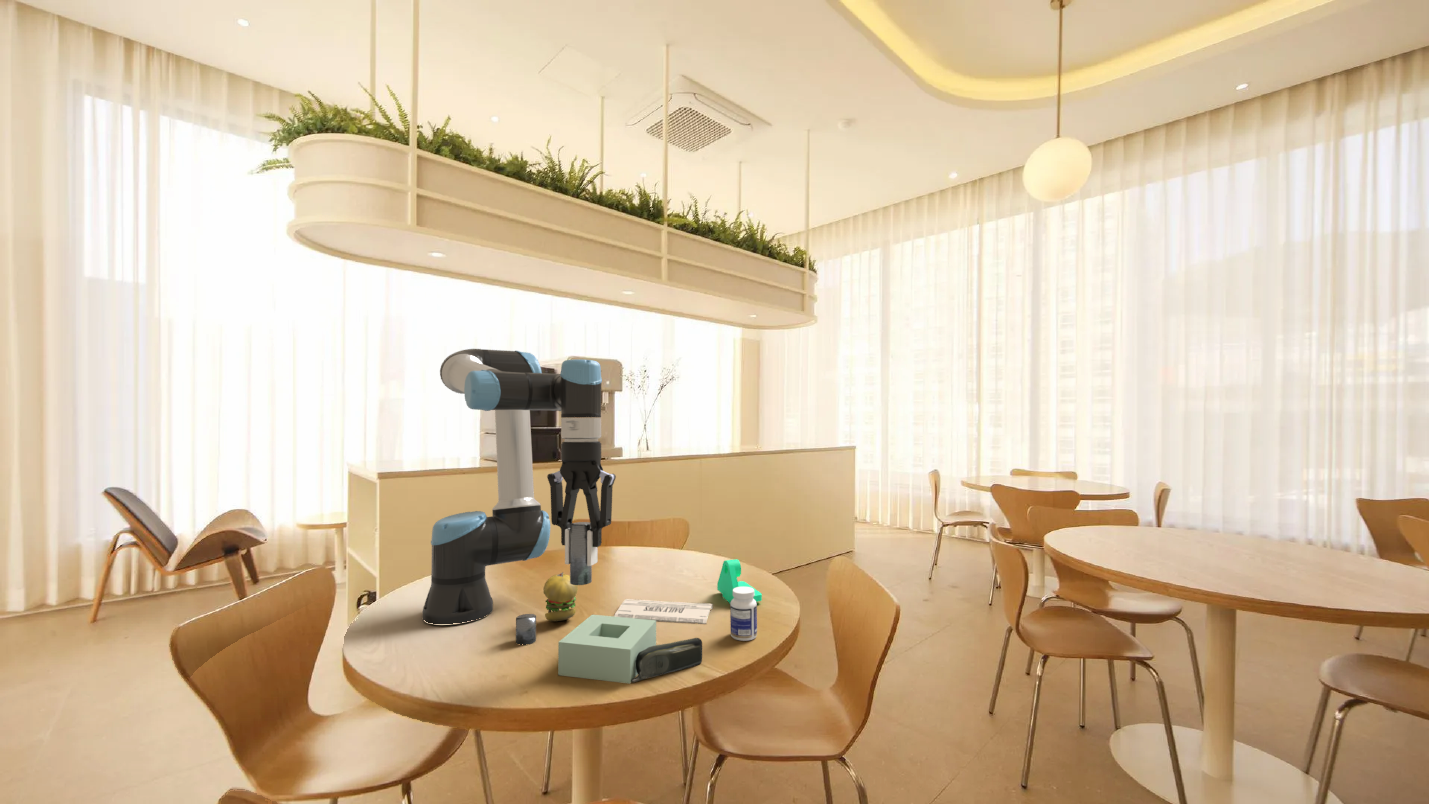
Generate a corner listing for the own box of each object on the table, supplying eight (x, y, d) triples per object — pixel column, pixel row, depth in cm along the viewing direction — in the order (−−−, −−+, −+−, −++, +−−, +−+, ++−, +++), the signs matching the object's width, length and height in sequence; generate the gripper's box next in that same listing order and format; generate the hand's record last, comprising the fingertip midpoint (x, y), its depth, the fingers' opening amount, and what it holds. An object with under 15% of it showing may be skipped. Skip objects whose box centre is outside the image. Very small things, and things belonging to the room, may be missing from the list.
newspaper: (713, 607, 138) (713, 597, 137) (706, 632, 125) (706, 621, 125) (625, 602, 141) (625, 592, 140) (610, 625, 129) (609, 615, 128)
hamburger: (573, 614, 131) (574, 563, 131) (581, 624, 125) (581, 571, 125) (540, 620, 127) (540, 567, 128) (546, 631, 121) (546, 576, 121)
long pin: (566, 584, 104) (566, 525, 104) (576, 578, 108) (576, 521, 108) (585, 585, 103) (585, 526, 103) (595, 579, 107) (595, 522, 107)
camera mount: (763, 605, 138) (763, 563, 138) (735, 609, 135) (735, 566, 136) (743, 590, 149) (743, 552, 150) (717, 593, 147) (717, 554, 147)
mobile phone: (697, 634, 108) (627, 650, 100) (705, 639, 106) (634, 656, 98) (696, 659, 108) (626, 678, 100) (705, 665, 106) (634, 685, 97)
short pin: (511, 644, 114) (512, 619, 114) (522, 636, 118) (522, 613, 118) (529, 646, 113) (529, 621, 113) (539, 638, 117) (539, 614, 117)
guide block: (558, 675, 101) (558, 641, 101) (591, 643, 115) (592, 614, 115) (630, 683, 98) (630, 649, 98) (656, 650, 111) (656, 620, 112)
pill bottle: (742, 628, 123) (743, 583, 123) (762, 636, 119) (762, 589, 119) (724, 636, 119) (724, 589, 119) (744, 644, 115) (744, 595, 115)
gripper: (531, 441, 105) (530, 565, 104) (613, 441, 100) (614, 571, 100) (552, 439, 112) (552, 555, 111) (630, 439, 108) (630, 560, 107)
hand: (581, 562), depth 105 cm, fingers closed on long pin, 4 cm apart
